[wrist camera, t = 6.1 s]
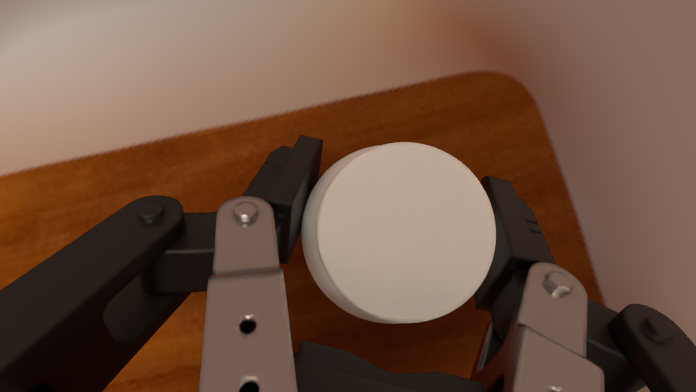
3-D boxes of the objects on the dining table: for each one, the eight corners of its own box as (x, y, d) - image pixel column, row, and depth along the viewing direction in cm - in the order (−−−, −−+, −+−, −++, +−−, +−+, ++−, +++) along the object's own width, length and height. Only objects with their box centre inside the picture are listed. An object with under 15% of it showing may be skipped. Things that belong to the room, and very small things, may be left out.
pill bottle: (303, 268, 17) (243, 309, 7) (338, 166, 17) (328, 77, 8) (407, 304, 17) (491, 397, 7) (439, 200, 17) (558, 153, 8)
